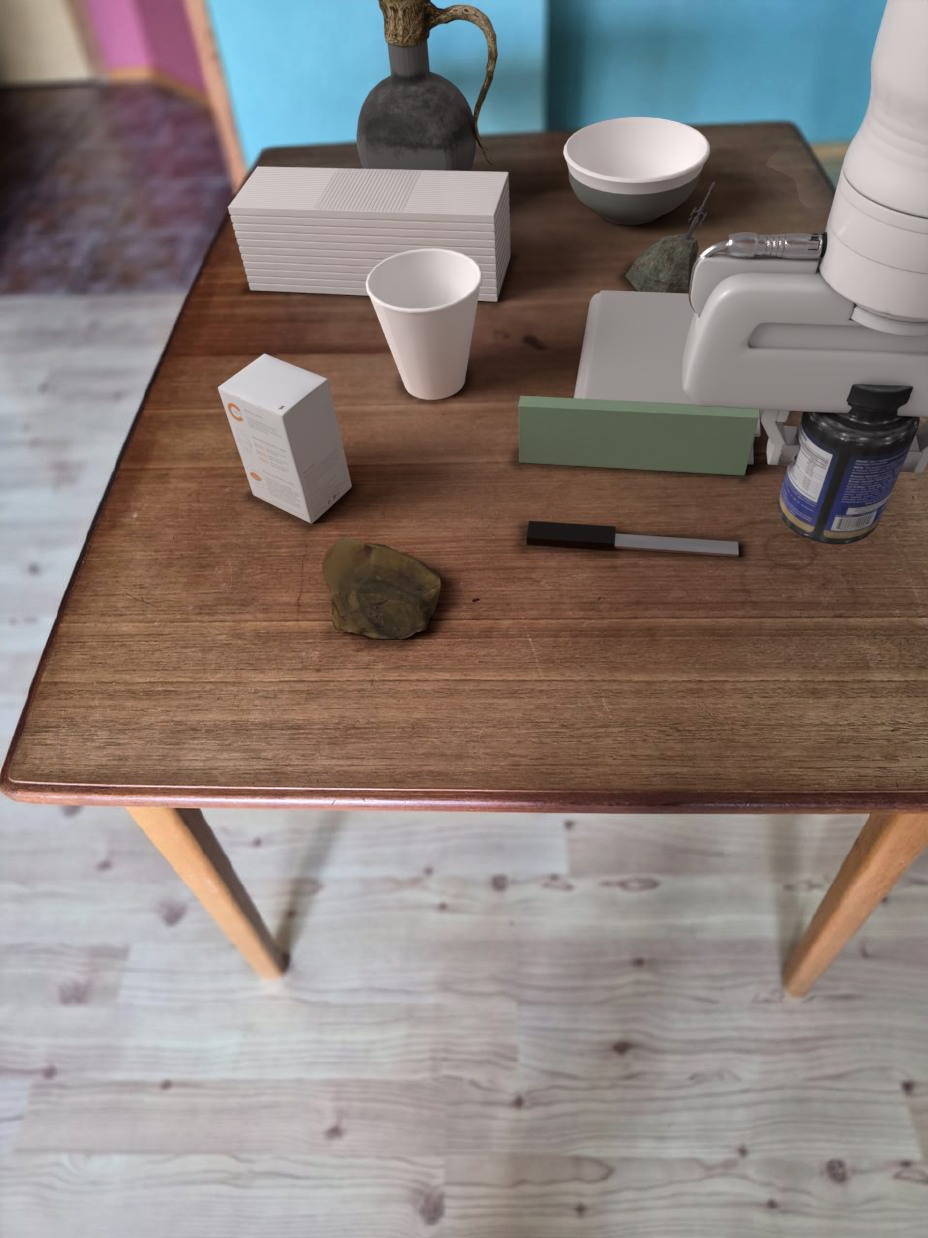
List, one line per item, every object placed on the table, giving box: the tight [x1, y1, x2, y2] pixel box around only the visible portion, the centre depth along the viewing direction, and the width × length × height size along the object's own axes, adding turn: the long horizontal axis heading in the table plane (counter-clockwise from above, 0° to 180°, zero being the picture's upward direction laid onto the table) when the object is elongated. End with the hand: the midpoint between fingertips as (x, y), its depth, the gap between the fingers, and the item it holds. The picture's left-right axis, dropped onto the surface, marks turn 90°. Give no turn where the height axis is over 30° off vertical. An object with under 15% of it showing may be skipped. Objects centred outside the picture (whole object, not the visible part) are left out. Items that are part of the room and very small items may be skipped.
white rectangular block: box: [573, 289, 761, 465], centre depth 94 cm, size 18×4×24 cm
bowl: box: [563, 116, 711, 226], centre depth 117 cm, size 19×19×8 cm
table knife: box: [525, 520, 740, 558], centre depth 81 cm, size 19×2×1 cm, turn 81°
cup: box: [366, 248, 483, 401], centre depth 94 cm, size 12×12×12 cm
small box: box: [217, 353, 353, 525], centre depth 83 cm, size 8×6×13 cm
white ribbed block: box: [227, 165, 512, 303], centre depth 110 cm, size 32×11×11 cm, turn 79°
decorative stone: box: [321, 536, 442, 640], centre depth 77 cm, size 10×9×4 cm
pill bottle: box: [777, 384, 921, 546], centre depth 51 cm, size 6×6×11 cm
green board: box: [517, 395, 759, 476], centre depth 85 cm, size 22×2×7 cm, turn 81°
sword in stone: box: [625, 181, 717, 294], centre depth 104 cm, size 10×8×12 cm
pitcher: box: [356, 0, 499, 171], centre depth 112 cm, size 11×19×30 cm, turn 76°
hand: (842, 462), depth 52 cm, fingers closed on pill bottle, 6 cm apart
